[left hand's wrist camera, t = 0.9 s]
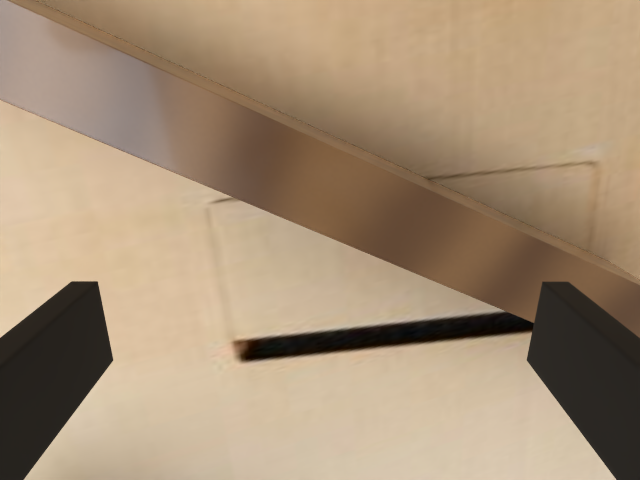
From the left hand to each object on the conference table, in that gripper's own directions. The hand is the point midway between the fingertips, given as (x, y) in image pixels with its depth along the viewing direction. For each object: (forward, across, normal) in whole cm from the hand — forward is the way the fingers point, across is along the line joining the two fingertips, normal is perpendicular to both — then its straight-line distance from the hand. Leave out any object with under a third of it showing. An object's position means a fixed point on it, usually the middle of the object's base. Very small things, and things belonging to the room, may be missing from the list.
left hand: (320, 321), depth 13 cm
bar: (+23, +4, -2) cm, 23 cm away
